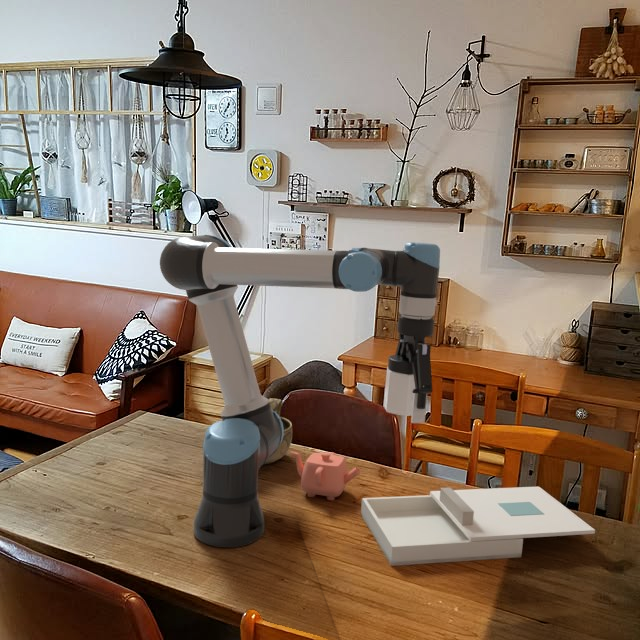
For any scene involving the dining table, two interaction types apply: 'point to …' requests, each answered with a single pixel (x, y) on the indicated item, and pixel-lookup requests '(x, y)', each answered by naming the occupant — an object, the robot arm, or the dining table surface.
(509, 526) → the lid
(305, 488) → the teapot
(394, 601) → the dining table surface
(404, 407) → the jar
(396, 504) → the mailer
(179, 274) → the robot arm
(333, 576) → the dining table surface
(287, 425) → the ceramic bowl
